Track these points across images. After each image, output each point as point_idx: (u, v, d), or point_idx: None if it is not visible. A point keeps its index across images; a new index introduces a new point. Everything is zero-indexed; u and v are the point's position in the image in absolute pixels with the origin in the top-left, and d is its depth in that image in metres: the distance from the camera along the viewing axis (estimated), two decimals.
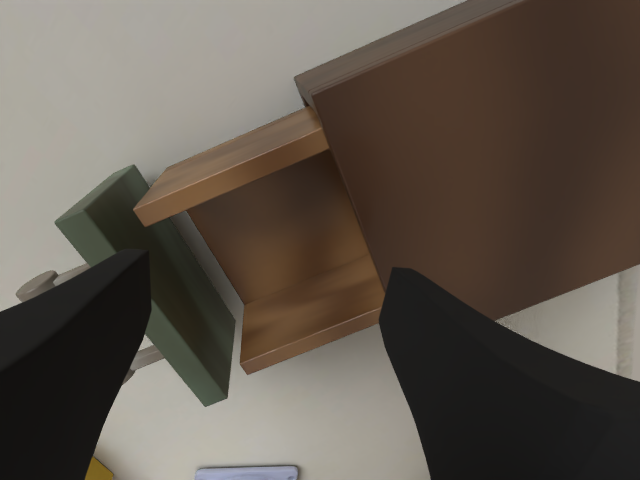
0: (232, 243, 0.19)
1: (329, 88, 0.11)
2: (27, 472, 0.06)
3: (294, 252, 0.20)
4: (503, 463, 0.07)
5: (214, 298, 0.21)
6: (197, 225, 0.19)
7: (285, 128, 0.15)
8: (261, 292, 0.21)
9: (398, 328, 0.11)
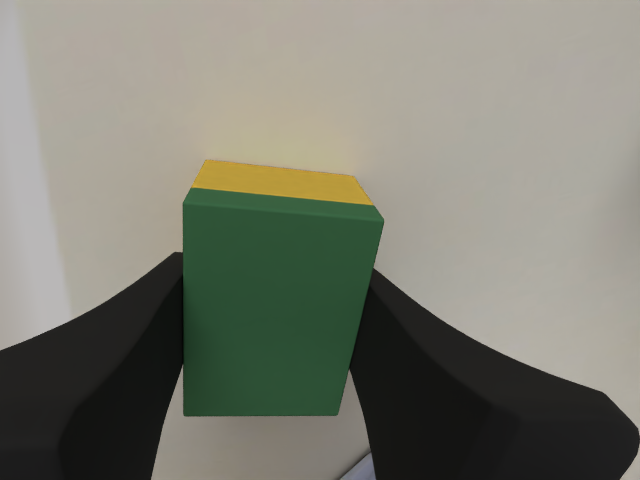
0: None
1: None
2: (121, 469, 0.06)
3: None
4: (430, 465, 0.06)
5: None
6: None
7: None
8: None
9: None
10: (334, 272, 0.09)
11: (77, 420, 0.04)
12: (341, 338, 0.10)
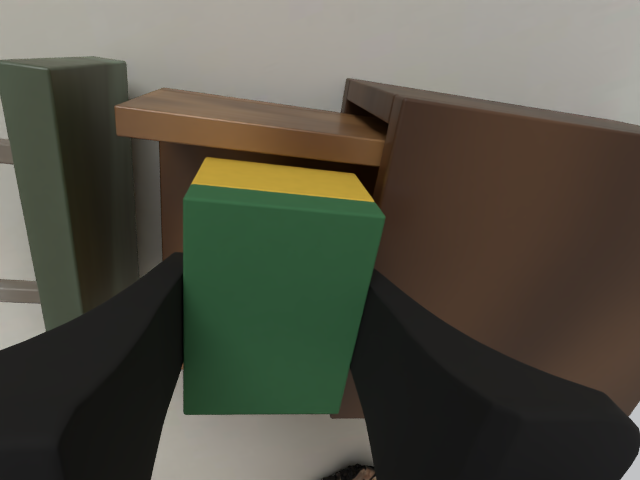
0: None
1: (425, 103, 0.10)
2: (121, 469, 0.06)
3: None
4: (431, 465, 0.06)
5: (132, 259, 0.17)
6: (162, 169, 0.15)
7: (328, 120, 0.13)
8: None
9: None
10: (335, 269, 0.09)
11: (77, 420, 0.04)
12: (342, 336, 0.10)
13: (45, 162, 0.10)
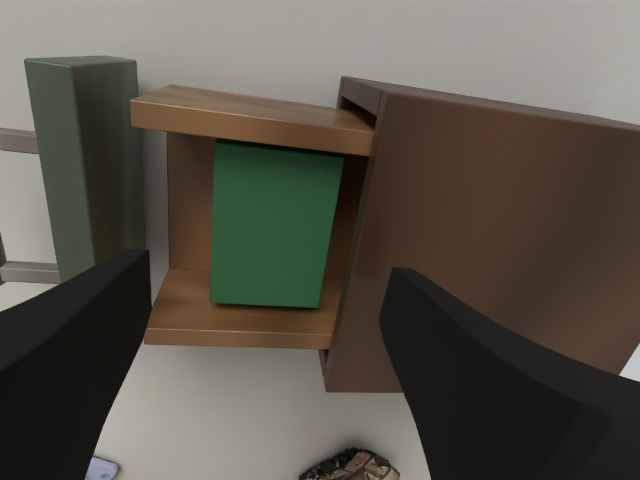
0: (195, 198, 0.17)
1: (409, 98, 0.11)
2: (27, 472, 0.06)
3: None
4: (503, 463, 0.07)
5: (140, 246, 0.18)
6: (169, 160, 0.16)
7: (323, 115, 0.14)
8: (195, 263, 0.18)
9: (398, 328, 0.11)
10: (312, 194, 0.14)
11: None
12: (318, 245, 0.15)
13: (67, 150, 0.11)
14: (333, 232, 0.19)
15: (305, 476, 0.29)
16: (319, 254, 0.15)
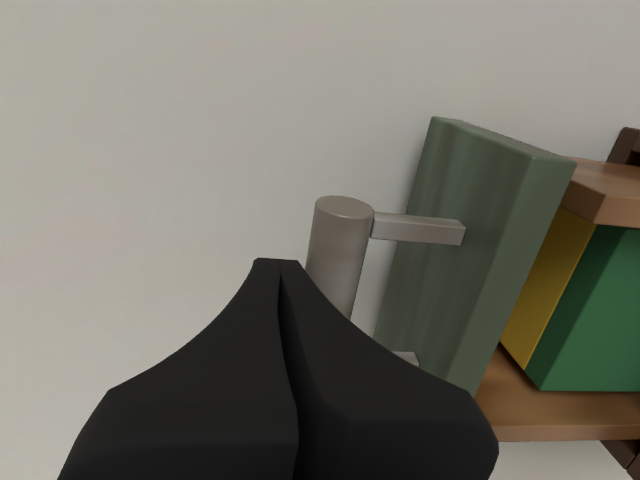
0: None
1: None
2: None
3: None
4: (298, 469, 0.06)
5: None
6: None
7: None
8: None
9: None
10: None
11: None
12: None
13: (525, 252, 0.10)
14: None
15: None
16: None
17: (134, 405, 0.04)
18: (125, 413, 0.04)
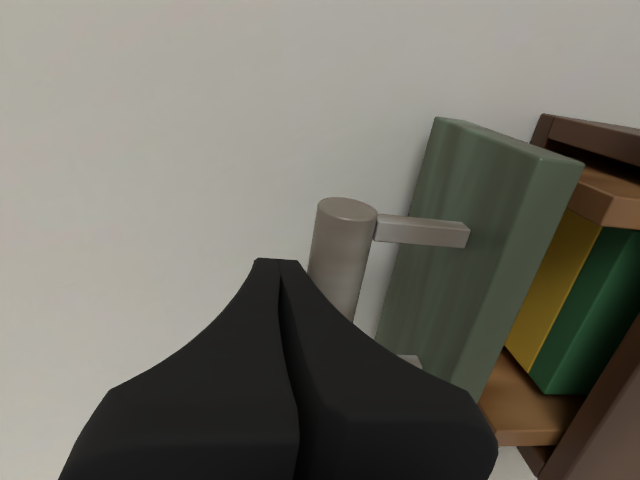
0: None
1: None
2: None
3: None
4: (297, 470, 0.06)
5: None
6: None
7: None
8: None
9: None
10: None
11: None
12: None
13: (531, 255, 0.09)
14: None
15: None
16: None
17: (134, 404, 0.04)
18: (126, 413, 0.04)
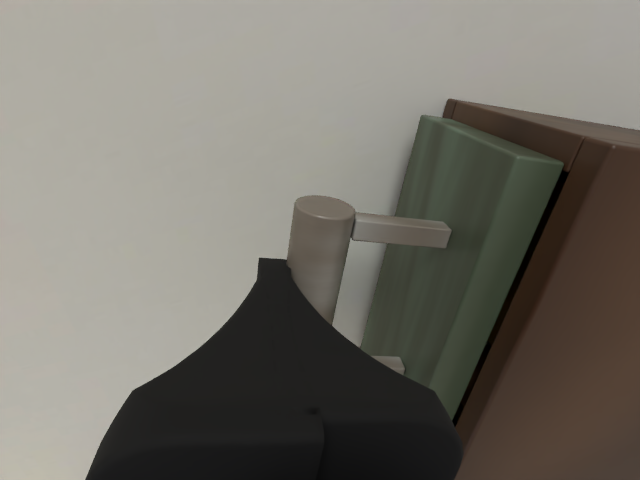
0: None
1: (638, 152, 0.07)
2: None
3: None
4: None
5: None
6: None
7: None
8: None
9: None
10: None
11: None
12: None
13: (510, 256, 0.09)
14: None
15: None
16: None
17: (161, 404, 0.04)
18: (152, 413, 0.04)
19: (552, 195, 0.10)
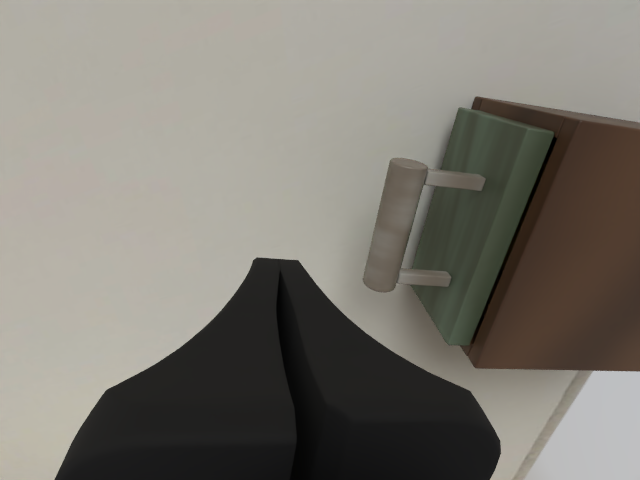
0: None
1: (594, 124, 0.14)
2: None
3: None
4: (300, 469, 0.06)
5: None
6: None
7: None
8: None
9: None
10: None
11: None
12: None
13: (523, 190, 0.15)
14: None
15: None
16: None
17: (132, 406, 0.04)
18: (122, 413, 0.04)
19: (548, 155, 0.16)
